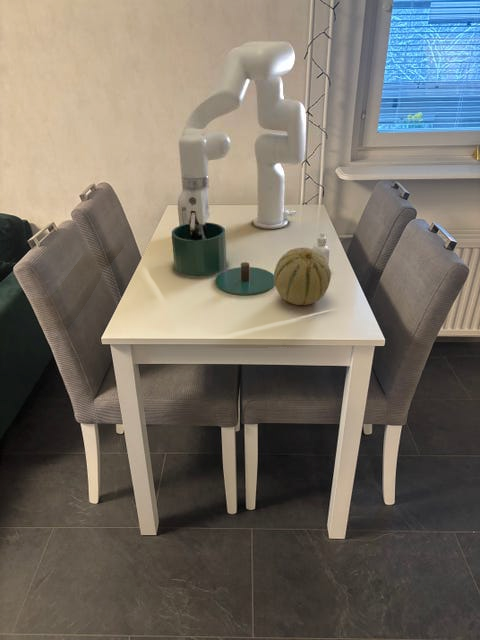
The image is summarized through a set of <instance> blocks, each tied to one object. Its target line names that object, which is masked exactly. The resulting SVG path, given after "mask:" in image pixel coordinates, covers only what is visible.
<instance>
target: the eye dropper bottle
mask: <svg viewBox="0 0 480 640" xmlns="http://www.w3.org/2000/svg"><path fill="white" fill-rule="evenodd" d="M312 249H314V250H315V251H317V252H319V253H320V254H321V255H323V257H324V258H325V259H326V262H327V264H328V265H329V262H330V249H329V247H328V245H327V237H326V236H325V233H324V232H320V235H319V236H317V241H316V243H315V244H314V245H313V246H312Z"/></svg>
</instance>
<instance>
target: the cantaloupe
mask: <svg viewBox="0 0 480 640" xmlns="http://www.w3.org/2000/svg"><path fill="white" fill-rule="evenodd" d="M331 273H332V272H331V269H330V265H329V264H327V262H326V259H325V258H324V257H323V255H321V254H320V253H319V252H317V251H315V250H314V249H313V248H311V247H294V248H291V249H290V250H287V252H285V253H283V254H282V256H281V257H280V258H279V259H278V261H277V263H276V265H275V268H274V272H273V275H274V283H275V286H274V287H275V288H276V291H277V292H278V294H279V296H280V297H281V298H282V299H283V300H285V302H288V303H290V304H293V305H296V306H307V305H312V304H314V303H316V302H318V301H319V300H321V299H322V297H324V296H325V294H326V292H327V291H328V288H329V286H330V283H331V279H332V278H331V277H332V275H331Z"/></svg>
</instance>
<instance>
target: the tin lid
mask: <svg viewBox="0 0 480 640" xmlns="http://www.w3.org/2000/svg"><path fill="white" fill-rule="evenodd" d="M250 264H251V263H249V262H247V261H246V262H245V261H244V262H242V263H240V266H239V267H233V268H229V269H225V270H223V271H221V272H219V273H218V274H217V276H216V277H215V279H214V283H215V287H216V288H217V289H219V290H220V291H222V292H223V293H225V294H229V295H232V296H233V295H234V296H255V295H261V294H264V293H267V292H268V291H270V290H272V289H273V288H274V287H276V286H275V283H274V273H272V272H271V271H268V270H267V269H263V268H260V267H252V266H250Z"/></svg>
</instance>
